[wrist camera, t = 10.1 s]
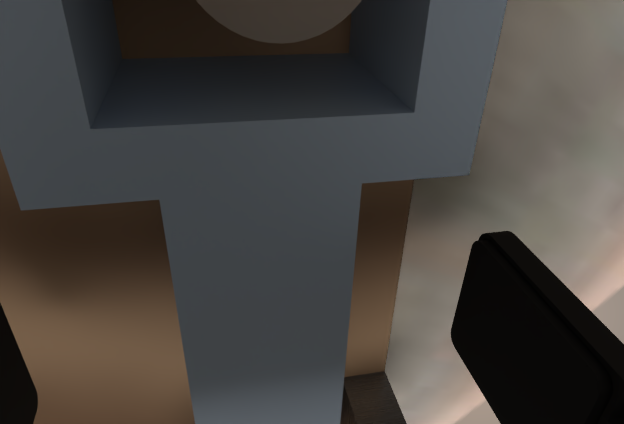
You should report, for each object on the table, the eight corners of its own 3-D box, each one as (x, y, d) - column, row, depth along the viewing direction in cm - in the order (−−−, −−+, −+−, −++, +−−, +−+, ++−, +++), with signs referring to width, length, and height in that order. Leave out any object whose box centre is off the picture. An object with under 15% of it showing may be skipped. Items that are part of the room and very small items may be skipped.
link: (-51, -391, 6) (-276, -672, 3) (444, -325, 7) (612, -481, 4) (155, 460, 15) (148, 588, 13) (355, 424, 17) (390, 533, 14)
